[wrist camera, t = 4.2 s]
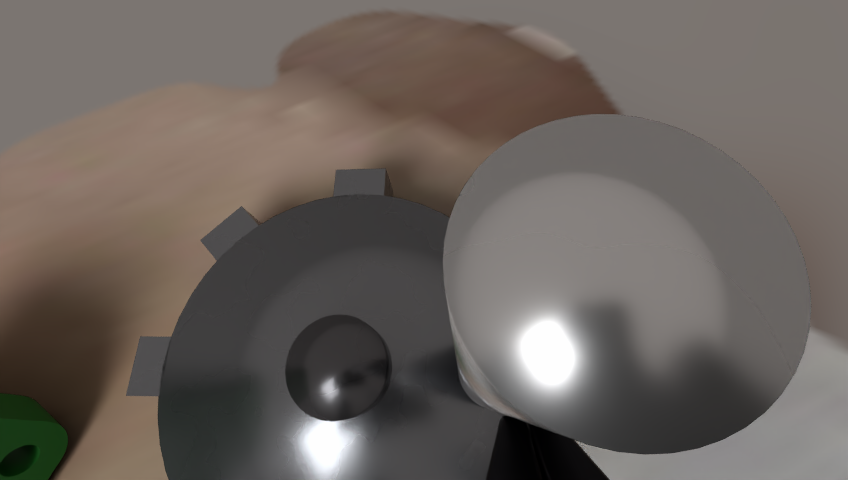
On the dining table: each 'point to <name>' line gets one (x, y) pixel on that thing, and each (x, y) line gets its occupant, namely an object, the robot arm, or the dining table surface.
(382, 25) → the dining table surface
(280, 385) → the sprocket
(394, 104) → the dining table surface
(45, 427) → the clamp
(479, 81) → the dining table surface
